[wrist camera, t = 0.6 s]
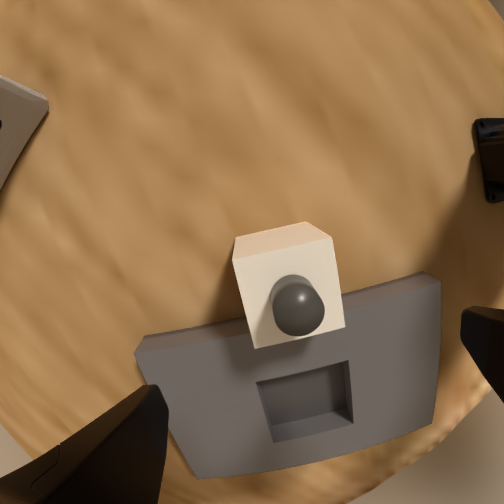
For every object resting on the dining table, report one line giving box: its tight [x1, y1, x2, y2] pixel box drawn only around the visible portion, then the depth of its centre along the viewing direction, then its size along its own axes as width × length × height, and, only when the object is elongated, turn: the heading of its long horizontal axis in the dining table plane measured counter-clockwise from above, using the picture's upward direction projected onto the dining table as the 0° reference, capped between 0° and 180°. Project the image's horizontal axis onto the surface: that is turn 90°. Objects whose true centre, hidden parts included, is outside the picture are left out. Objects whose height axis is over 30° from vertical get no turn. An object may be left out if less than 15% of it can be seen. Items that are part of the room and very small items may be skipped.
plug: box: [232, 222, 345, 349], centre depth 16 cm, size 4×4×8 cm
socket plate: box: [134, 272, 442, 479], centre depth 21 cm, size 20×13×2 cm, turn 103°
